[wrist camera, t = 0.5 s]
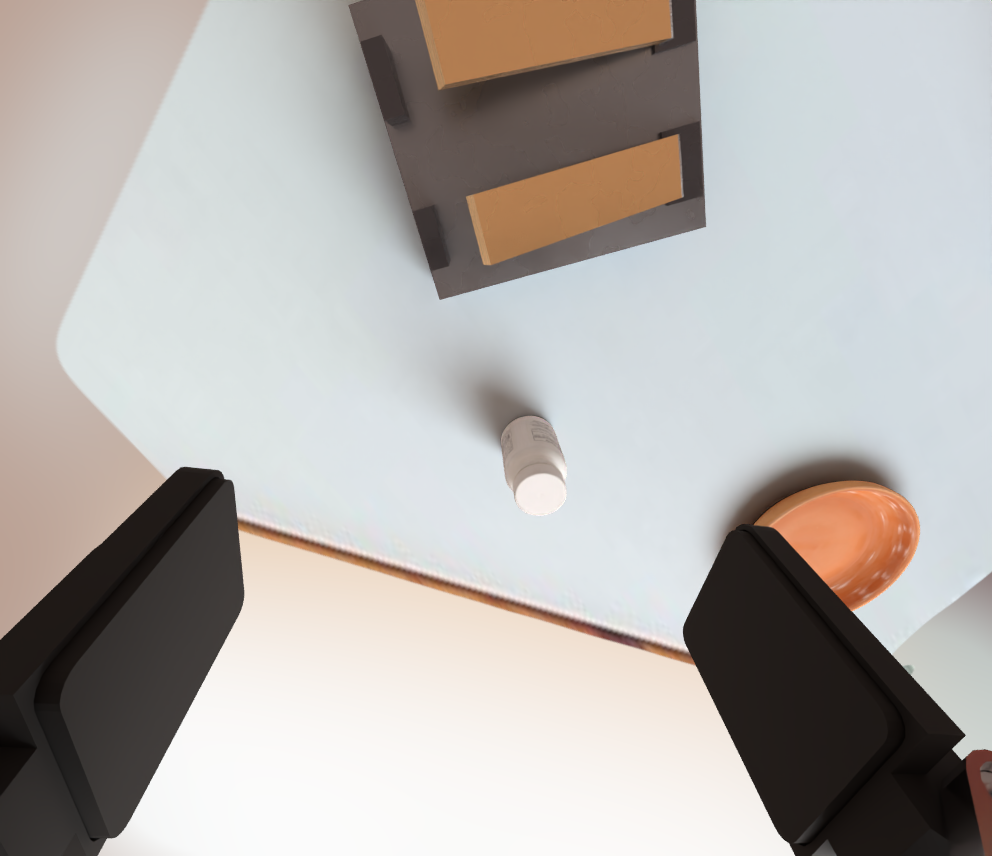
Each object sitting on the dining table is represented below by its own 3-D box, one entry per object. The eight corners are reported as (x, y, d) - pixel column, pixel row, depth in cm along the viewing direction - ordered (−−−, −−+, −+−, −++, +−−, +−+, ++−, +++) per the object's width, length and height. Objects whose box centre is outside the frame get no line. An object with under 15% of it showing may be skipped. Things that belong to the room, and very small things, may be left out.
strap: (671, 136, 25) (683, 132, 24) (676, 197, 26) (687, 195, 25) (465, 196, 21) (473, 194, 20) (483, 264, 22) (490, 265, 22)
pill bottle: (513, 470, 39) (522, 531, 32) (491, 427, 37) (496, 482, 30) (563, 450, 38) (583, 508, 31) (543, 405, 36) (560, 456, 29)
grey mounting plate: (658, -64, 24) (716, -141, 18) (678, 222, 30) (726, 229, 25) (365, 31, 25) (335, -15, 20) (443, 287, 32) (437, 308, 26)
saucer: (907, 449, 40) (938, 467, 37) (882, 582, 47) (907, 605, 44) (719, 492, 41) (737, 513, 38) (723, 615, 48) (738, 640, 46)
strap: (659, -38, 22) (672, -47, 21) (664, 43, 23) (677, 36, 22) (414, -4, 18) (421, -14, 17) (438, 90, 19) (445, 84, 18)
